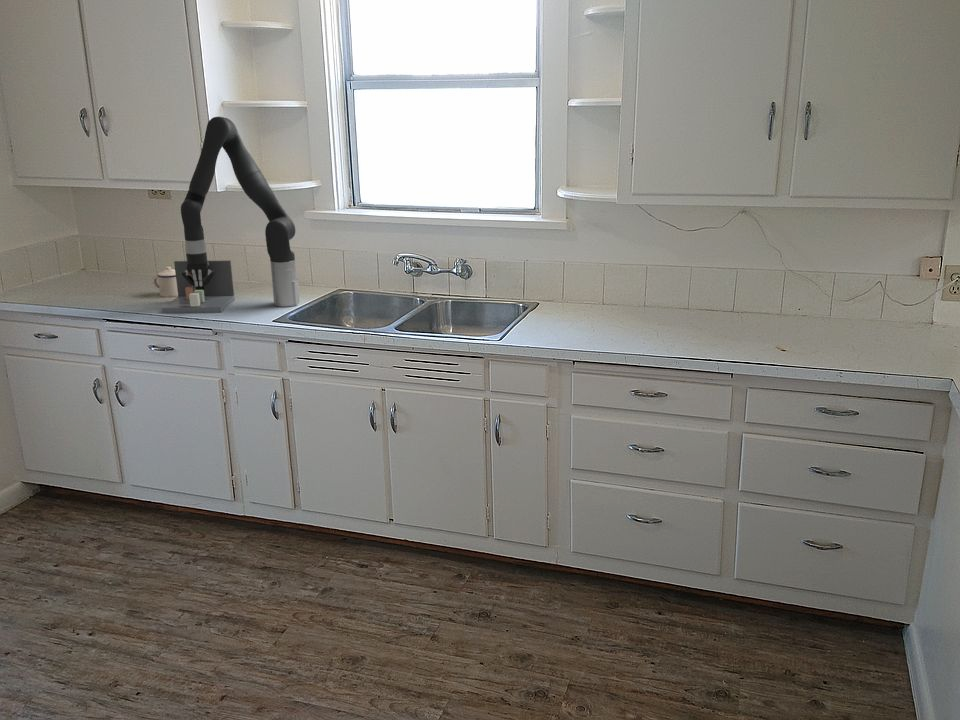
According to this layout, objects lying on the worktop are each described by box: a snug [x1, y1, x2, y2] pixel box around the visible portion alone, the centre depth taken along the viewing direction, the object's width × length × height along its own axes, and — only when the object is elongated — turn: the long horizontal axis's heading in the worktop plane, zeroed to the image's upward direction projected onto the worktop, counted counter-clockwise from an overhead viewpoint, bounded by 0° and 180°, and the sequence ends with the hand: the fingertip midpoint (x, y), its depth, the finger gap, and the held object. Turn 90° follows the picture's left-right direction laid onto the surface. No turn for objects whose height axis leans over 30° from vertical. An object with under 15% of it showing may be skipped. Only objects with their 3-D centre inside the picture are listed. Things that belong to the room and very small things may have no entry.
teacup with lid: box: [153, 266, 178, 298], centre depth 354 cm, size 12×9×12 cm
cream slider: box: [189, 293, 200, 306], centre depth 328 cm, size 3×2×4 cm
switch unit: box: [162, 259, 236, 314], centre depth 334 cm, size 22×19×16 cm
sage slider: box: [194, 290, 205, 303], centre depth 333 cm, size 3×2×4 cm
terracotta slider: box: [185, 287, 195, 300], centre depth 338 cm, size 3×2×4 cm
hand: (200, 295), depth 338 cm, fingers closed
